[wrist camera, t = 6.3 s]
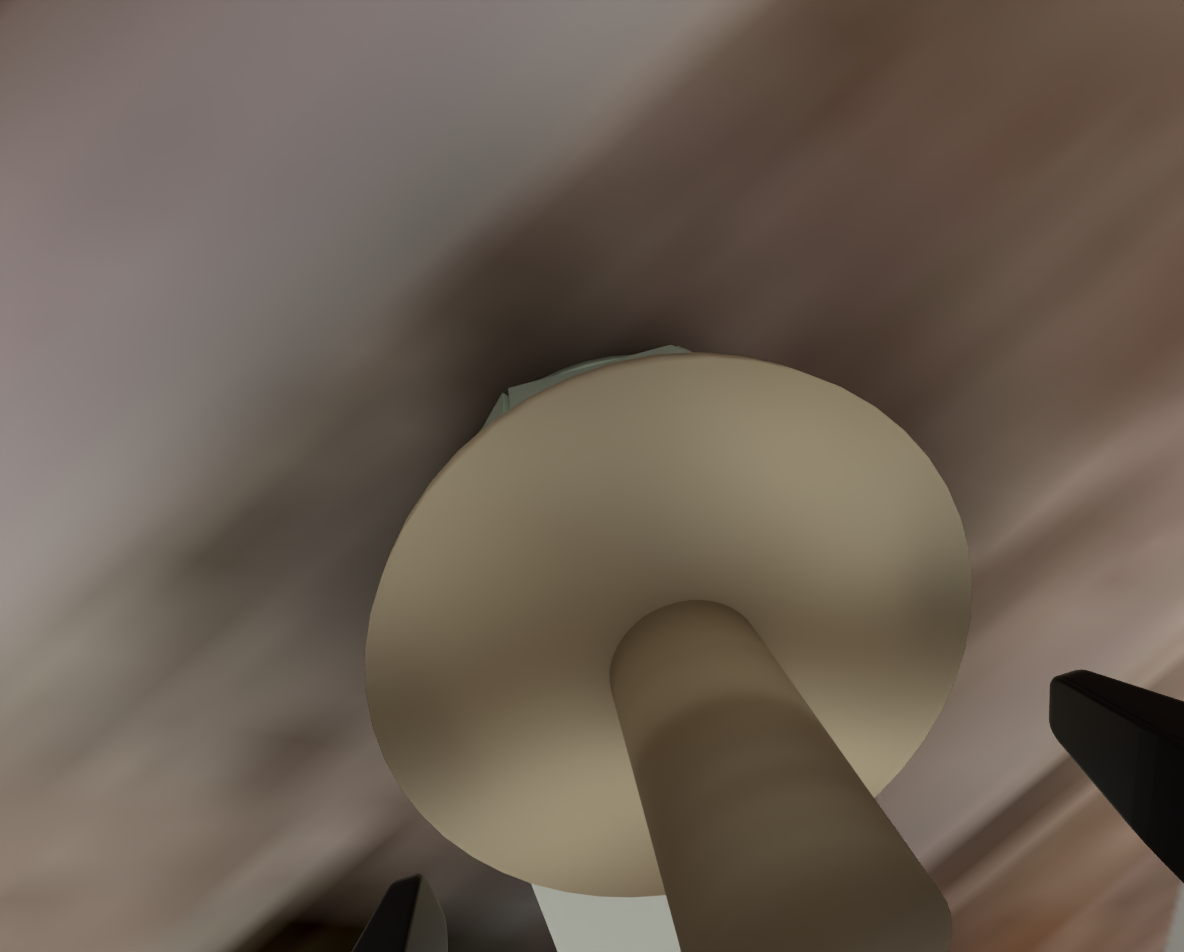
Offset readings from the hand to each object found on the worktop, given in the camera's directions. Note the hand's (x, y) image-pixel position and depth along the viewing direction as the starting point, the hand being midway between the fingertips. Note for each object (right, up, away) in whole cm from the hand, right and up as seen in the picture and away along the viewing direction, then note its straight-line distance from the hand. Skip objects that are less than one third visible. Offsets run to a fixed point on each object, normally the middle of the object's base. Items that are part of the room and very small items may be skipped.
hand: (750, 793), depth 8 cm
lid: (-1, +1, +3) cm, 4 cm away
